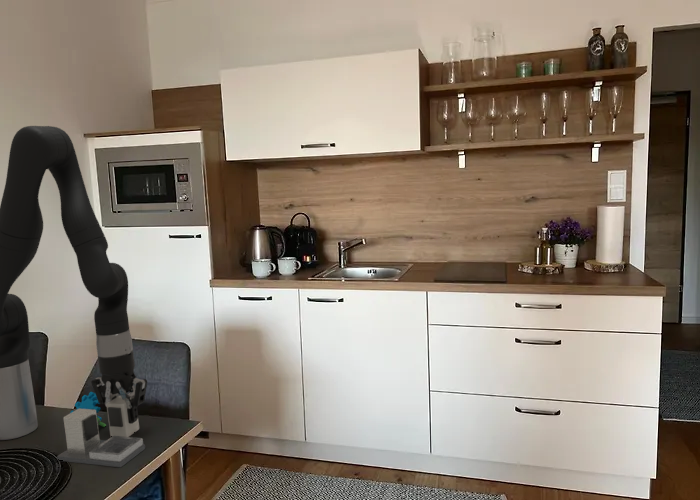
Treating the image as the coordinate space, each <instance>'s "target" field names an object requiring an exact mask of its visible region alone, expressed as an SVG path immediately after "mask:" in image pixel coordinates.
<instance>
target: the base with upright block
mask: <svg viewBox="0 0 700 500" xmlns="http://www.w3.org/2000/svg"><path fill="white" fill-rule="evenodd" d="M73 411H74V412H72V413H70V412H69V413H68V414H66V415H64V416H63V423H64V424H63V426H64V431H65V441H66V447H67V449H66V450H64V451H63V452H62V453H60V454H58V455H57V456H56V458H57V460H58V459H59V460H63V461H62V462H69V463H77V464H86V465H95V466H102V467H103V466H105V467H115V468H122V467H124V465H126V464H127V463H128V462H130V461H131V460H132V459H134V458H136V457H137V455H139V454H140V453H142V452H143V451H145V450H146V444H145V443H144V441H143V440H144V439H143V438H142V437H135V436H134V437H133V436H129V437H124V436H112V437H111V436H110V438H108V439H106V440H104V439H100V432H99V424H98V423H97V416H98V415H97V413H96V410H92V409H77V410H76V409H75V410H73Z"/></svg>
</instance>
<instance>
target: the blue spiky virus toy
mask: <svg viewBox="0 0 700 500" xmlns="http://www.w3.org/2000/svg"><path fill="white" fill-rule="evenodd" d="M97 404H98V405H101V404H100V403H99V402H98V399H97V396H96V394H95V392H93V391H90V392H89V393H88V395H87V394H84V395H82V397H81V402H80V401H76V402H75V404H74V408H75V407H76V408H75V410H77V409H92V410H96V414H99V412H100V411H101V409H102V408H101V407H99V406H96V405H97ZM75 410H73V409H72V410H71V411H70V412H69V414H70V413H72V412H74V411H75ZM97 423H98V426H101V427H102V428H106V427H107V424H106V423H104V422H103V421H102V417H101V416H99V415H97ZM105 426H106V427H105Z"/></svg>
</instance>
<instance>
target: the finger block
mask: <svg viewBox="0 0 700 500" xmlns="http://www.w3.org/2000/svg"><path fill="white" fill-rule="evenodd" d="M130 400H131V402H132V399H131V398H130ZM106 405H107V407H106V412H107V420H108V426H109V427H108V428H109V435H110V437H111V436H124V437H131V436H132V435H133V434H135V433H136V432H137V431H139V430H140V423H139V418H138V419H137V421H135V422H134V423H132V424H130V423H129V421H128V413H127V409H128V407H127V405H126V403H125V400H123V399H122V397H121V395H118V396H117V398H115V399H113V400H112V401H110V402H108V403H106ZM134 432H135V433H134Z"/></svg>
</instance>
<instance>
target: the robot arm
mask: <svg viewBox="0 0 700 500" xmlns="http://www.w3.org/2000/svg"><path fill="white" fill-rule="evenodd" d="M7 163H8V166H7V171H6V178H5V185H4V189H3V193H2V198H1V202H0V441H5V440H6V441H7V440H12V439H17V438H21V437H24V436H26V435H28V434H31V433H32V432H34V431H36V429H37V428H38V427H39V424H38V417H37V407H36V401H35V397H34V387H33V382H32V375H31V374H32V373H31V368H30V361H29V350H30V345H31V341H30V340H31V339H30V330H29V329H30V326H29V317H28V316H29V315H28V311H27V308H26V304H25V302H23V300H22V299H21V298H20V297H19V296H17V295H16V294H13V293H9V292H10V290H11V288H12V286H13V285H14V284H15V282H16V281H17V280H18V278H19V277H20V276H21V275H22V274H23V273H24V271H25V270H26V269H27V268H28V267H29V265H30V264H31V262H32V261H33V259H34V258H35V256H36V254H37V251H38V250H39V246H40V242H41V238H42V235H43V231H44V219H43V214H42V210H41V206H40V202H39V201H40V200H39V193H40V188H41V184H42V182H43V179H44V175H45V173H46V171H47V170H48V171H49V172H50V173H51V175H52V177H53V180H54V181H55V183H56V186H57V189H58V193H59V198H60V199H59V200H60V216H61V222H62V223H61V224H62V227H63V229H64V231H65V232H64V233H65V235H66V237H67V239H68V241H69V243H70V245H71V247H72V249H73V252H74V254H75V256H76V261H77V265H78V269H79V273H80V278H81V280H82V283H83V285H84V287H85V289H86V290H87V292H88V293H89V294H90V295H92V296H93V297H95V298H98V303H97V304H98V305H97V307H96V309H95V310H94V319H93V320H94V325H95V337H96V338H95V341H96V342H95V344H96V352H97V360H98V371H99V373H100V374H101V375H100V376H98V377H95V378H94V379H92V380H91V381H90V382H91V385H92V387H93V391H94V393H95V394H96V396H97V399H98V402H99V403H100V404H99V405H105V407H106V408H107V405H106V403H108V402H110V401H112V400H113V399H115V398H117V397H118V396H121V397H122V399H123V400H125V403H126V405H127V407H128V409H127V413H128V421H129V423H130V424H132V423H134V422H135V421H137V419H138V420H139V413H138V406H140V405H141V404H143V403H144V402H145V400H146V399H145V398H146V392H147V385H148V380H147V379H146V378H143V379H141V378H138V377H137V375H136V374H135V372H134V369H135V367H136V366H135V365H136V364H135V357H134V355H135V354H134V348H133V347H134V346H133V339H132V338H133V337H132V334H131V332H130V331H131V329H130V325H129V315H128V301H129V299H128V298H129V279H128V275H127V272H126V271H125V268H124V267H123V266H121V265H120V264H119V263H116V262H110V259H109V256H108V254H107V250H108V248H109V244H108V243H109V242H108V240H107V238H106V236H105V234H104V231H103V229H102V227H101V225H100V223H99V221H98V218H97V216H96V213H95V211H94V208H93V207H92V204H91V202H90V199H89V196H88V192H87V187H86V185H85V182H84V178H83V175H82V171H81V168H80V164H79V161H78V157H77V153H76V149H75V147H74V143H73V141H72V139H71V137H70V136H69V134H68V133H67V132H66V131H65V130H64V129H61V128H60V127H57V126H51V125H28V126H27V125H26V126H23V127H21V128H20V129H18V131H17V132H16V133H15V134H14V135H13V138H12V141H11V145H10V149H9V156H8V162H7ZM130 398H131V399H132V402H131V400H130ZM97 399H96V400H97Z"/></svg>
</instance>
